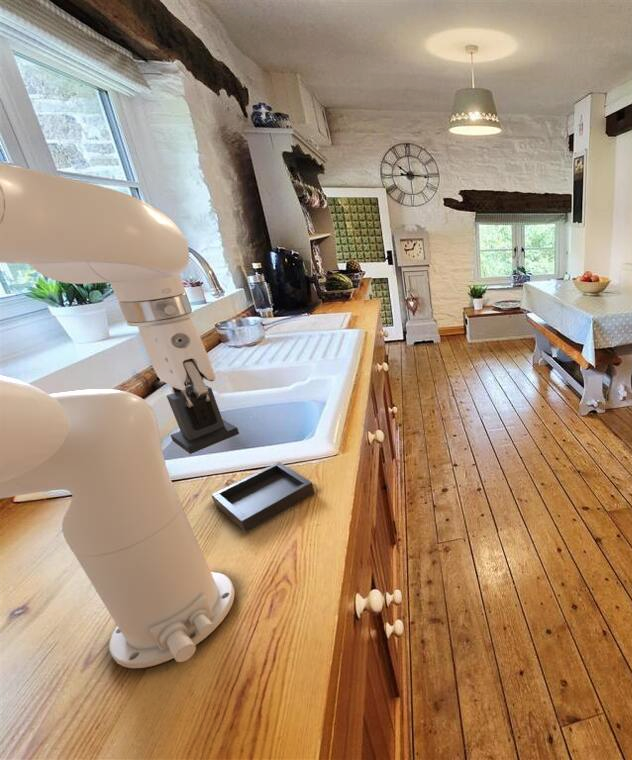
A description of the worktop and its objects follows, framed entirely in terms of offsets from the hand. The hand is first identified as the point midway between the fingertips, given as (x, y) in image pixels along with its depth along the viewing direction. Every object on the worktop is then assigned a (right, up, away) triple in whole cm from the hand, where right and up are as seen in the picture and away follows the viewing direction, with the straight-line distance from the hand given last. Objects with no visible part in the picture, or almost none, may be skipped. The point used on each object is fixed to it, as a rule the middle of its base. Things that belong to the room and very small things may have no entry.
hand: (200, 422), depth 65 cm
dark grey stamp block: (0, -3, +1) cm, 3 cm away
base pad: (+5, -15, +9) cm, 18 cm away
